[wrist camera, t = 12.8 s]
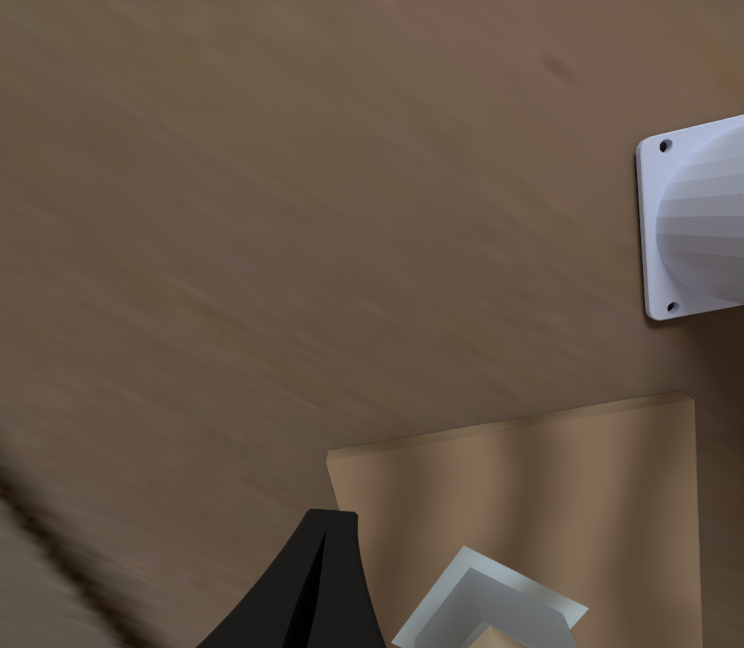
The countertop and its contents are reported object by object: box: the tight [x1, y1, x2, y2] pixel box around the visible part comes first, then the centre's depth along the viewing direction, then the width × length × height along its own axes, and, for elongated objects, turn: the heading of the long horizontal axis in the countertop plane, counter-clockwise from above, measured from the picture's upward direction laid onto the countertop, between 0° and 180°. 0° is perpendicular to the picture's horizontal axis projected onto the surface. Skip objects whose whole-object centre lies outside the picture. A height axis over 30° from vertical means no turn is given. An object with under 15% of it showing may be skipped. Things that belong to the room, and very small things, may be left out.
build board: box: [326, 391, 703, 648], centre depth 22 cm, size 18×18×1 cm
